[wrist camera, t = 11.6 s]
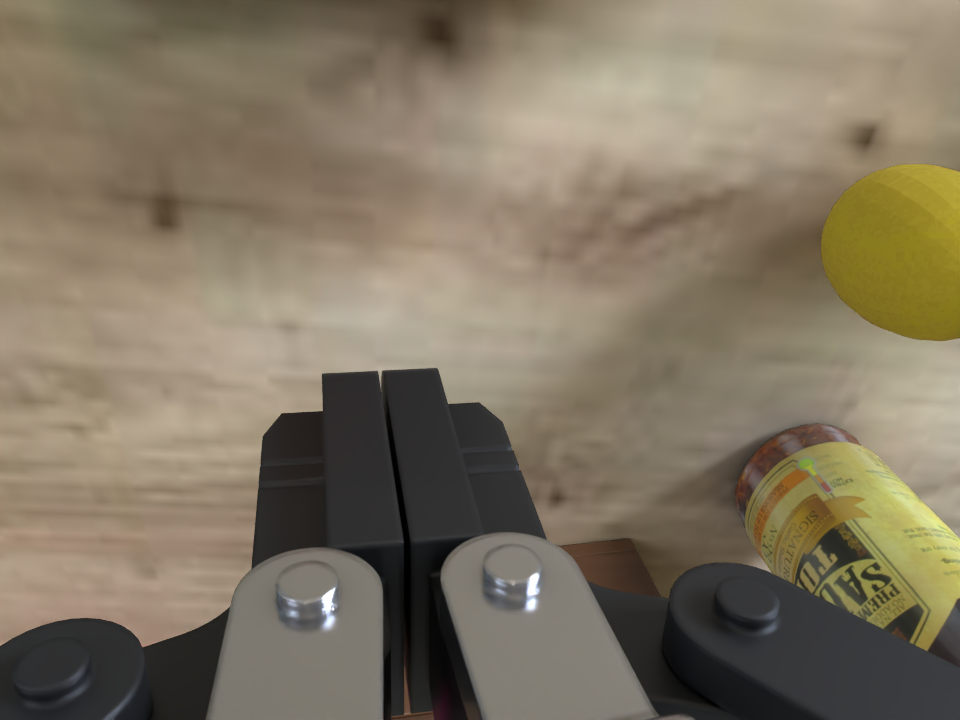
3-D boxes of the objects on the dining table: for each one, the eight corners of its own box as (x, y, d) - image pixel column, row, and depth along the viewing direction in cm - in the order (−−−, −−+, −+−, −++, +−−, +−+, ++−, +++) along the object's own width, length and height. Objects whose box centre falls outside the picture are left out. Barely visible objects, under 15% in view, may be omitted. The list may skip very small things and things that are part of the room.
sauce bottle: (735, 423, 36) (1143, 896, 19) (873, 409, 37) (1381, 845, 20) (716, 548, 39) (1052, 1057, 22) (843, 532, 40) (1262, 1006, 23)
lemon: (916, 119, 31) (1093, 178, 24) (922, 255, 34) (1083, 344, 27) (772, 170, 31) (909, 243, 24) (790, 303, 34) (917, 404, 27)
